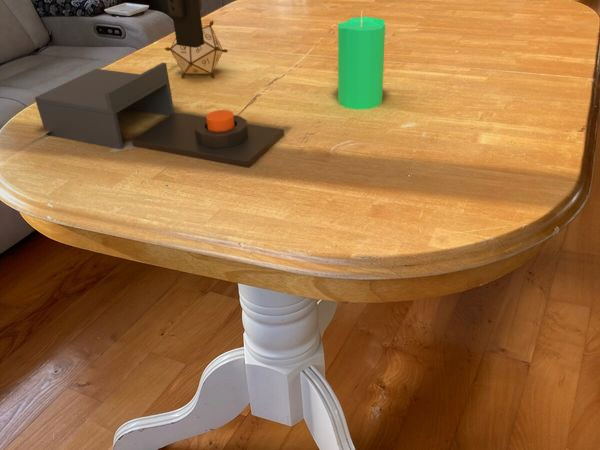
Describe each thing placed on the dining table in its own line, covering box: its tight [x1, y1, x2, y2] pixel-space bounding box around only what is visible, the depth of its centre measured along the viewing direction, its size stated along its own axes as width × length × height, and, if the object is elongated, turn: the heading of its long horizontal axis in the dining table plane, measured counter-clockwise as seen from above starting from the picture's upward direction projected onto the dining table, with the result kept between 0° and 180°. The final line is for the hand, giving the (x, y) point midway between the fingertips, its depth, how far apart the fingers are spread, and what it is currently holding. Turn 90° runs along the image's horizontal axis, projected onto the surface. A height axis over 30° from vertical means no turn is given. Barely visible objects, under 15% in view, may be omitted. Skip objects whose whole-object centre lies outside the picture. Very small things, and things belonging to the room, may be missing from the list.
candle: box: [337, 10, 386, 110], centre depth 76 cm, size 6×6×12 cm
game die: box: [164, 20, 229, 79], centre depth 89 cm, size 9×8×10 cm
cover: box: [34, 62, 175, 150], centre depth 74 cm, size 12×11×7 cm
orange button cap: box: [205, 109, 235, 132], centre depth 69 cm, size 3×3×2 cm
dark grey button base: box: [131, 111, 285, 169], centre depth 70 cm, size 16×9×2 cm, turn 66°
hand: (190, 44), depth 65 cm, fingers closed
